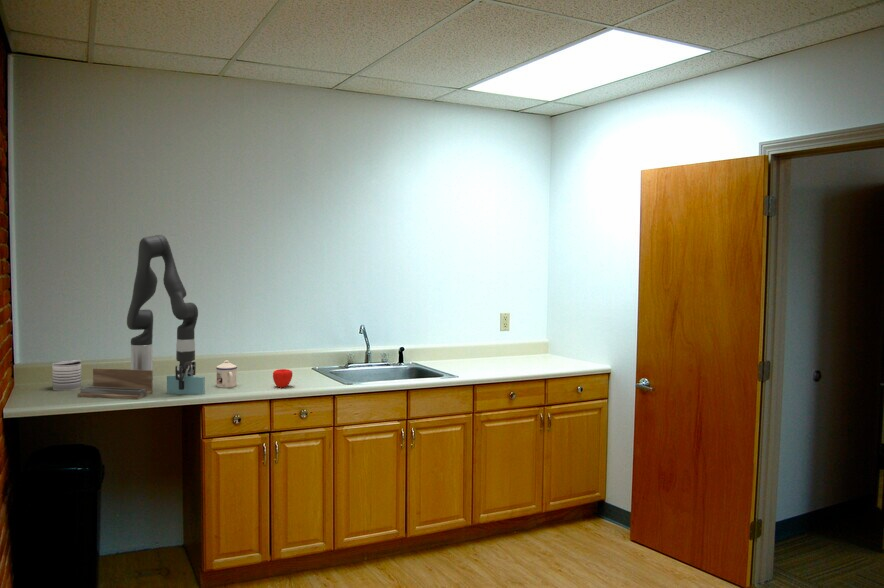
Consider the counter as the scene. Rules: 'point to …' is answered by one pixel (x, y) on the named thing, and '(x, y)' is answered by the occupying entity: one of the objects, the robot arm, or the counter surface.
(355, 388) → the counter surface
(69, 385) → the can
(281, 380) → the apple
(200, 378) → the sliding panel
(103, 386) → the brown wooden stand
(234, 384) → the teacup with lid
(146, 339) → the robot arm
